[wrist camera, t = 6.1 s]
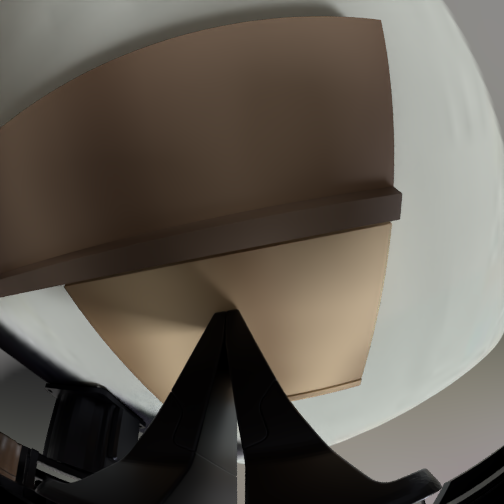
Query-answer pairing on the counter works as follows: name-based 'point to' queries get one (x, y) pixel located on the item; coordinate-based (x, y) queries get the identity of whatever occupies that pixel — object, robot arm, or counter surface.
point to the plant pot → (9, 456)
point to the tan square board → (251, 308)
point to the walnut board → (200, 151)
